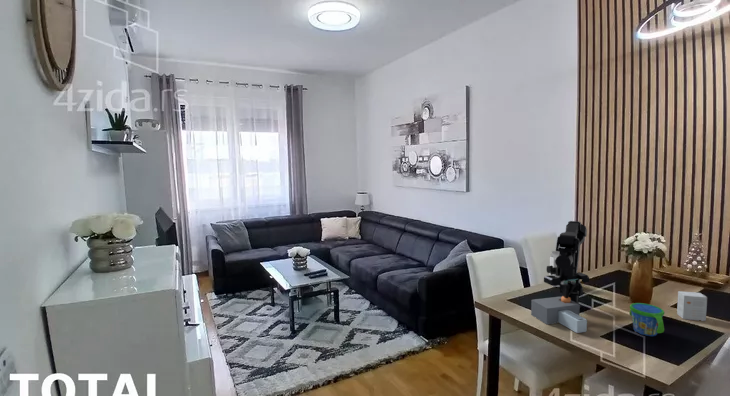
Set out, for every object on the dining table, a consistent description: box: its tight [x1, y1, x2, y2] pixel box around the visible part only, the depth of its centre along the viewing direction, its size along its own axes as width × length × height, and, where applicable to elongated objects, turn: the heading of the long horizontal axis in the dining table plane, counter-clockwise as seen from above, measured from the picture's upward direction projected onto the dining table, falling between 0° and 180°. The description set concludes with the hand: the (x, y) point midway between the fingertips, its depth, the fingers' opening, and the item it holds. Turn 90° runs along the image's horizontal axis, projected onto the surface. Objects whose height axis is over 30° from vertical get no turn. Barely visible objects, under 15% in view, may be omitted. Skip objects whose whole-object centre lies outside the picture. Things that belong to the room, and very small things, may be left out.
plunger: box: [561, 295, 571, 303], centre depth 160 cm, size 4×4×3 cm
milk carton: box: [548, 250, 560, 288], centre depth 199 cm, size 7×7×19 cm
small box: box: [676, 290, 708, 322], centre depth 156 cm, size 8×6×10 cm
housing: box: [530, 295, 581, 325], centre depth 159 cm, size 16×10×7 cm, turn 102°
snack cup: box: [629, 302, 665, 337], centre depth 144 cm, size 16×10×10 cm
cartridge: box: [558, 309, 588, 334], centre depth 154 cm, size 4×19×5 cm, turn 12°
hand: (565, 297), depth 160 cm, fingers closed, pressing on plunger
